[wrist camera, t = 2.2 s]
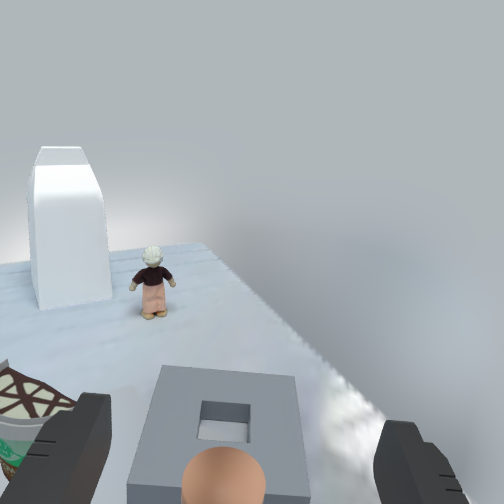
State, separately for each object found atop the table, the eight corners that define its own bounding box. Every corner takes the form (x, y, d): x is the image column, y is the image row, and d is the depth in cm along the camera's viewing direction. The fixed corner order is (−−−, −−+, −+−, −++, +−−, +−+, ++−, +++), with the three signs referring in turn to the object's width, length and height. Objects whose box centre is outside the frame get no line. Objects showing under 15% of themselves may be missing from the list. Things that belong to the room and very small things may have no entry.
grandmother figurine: (166, 303, 79) (168, 239, 74) (176, 313, 76) (179, 247, 71) (125, 314, 74) (125, 246, 69) (135, 325, 71) (135, 255, 66)
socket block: (291, 393, 60) (294, 376, 59) (306, 517, 44) (310, 496, 43) (161, 382, 60) (162, 365, 58) (127, 504, 43) (126, 483, 42)
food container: (-39, 466, 45) (-56, 390, 41) (14, 427, 50) (3, 356, 46) (47, 523, 41) (37, 444, 37) (95, 474, 46) (91, 400, 42)
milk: (39, 311, 72) (23, 155, 62) (31, 280, 81) (16, 140, 71) (112, 298, 78) (109, 154, 68) (97, 271, 87) (92, 140, 77)
